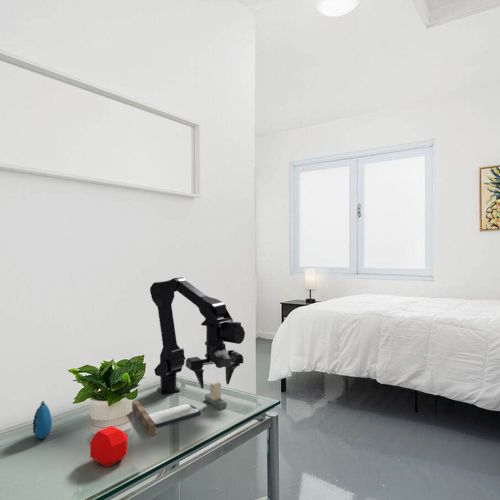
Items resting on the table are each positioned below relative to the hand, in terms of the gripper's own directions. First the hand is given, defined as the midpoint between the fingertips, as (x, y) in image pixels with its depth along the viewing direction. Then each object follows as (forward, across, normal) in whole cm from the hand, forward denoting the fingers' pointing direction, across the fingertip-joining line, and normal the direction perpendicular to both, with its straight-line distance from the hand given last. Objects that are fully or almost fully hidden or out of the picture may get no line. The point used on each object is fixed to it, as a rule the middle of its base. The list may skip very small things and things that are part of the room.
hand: (215, 386), depth 145 cm
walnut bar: (+6, -25, -4) cm, 26 cm away
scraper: (+6, 0, 0) cm, 6 cm away
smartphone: (+6, -16, -4) cm, 18 cm away
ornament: (+6, -52, -1) cm, 52 cm away
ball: (+6, -38, -23) cm, 45 cm away
